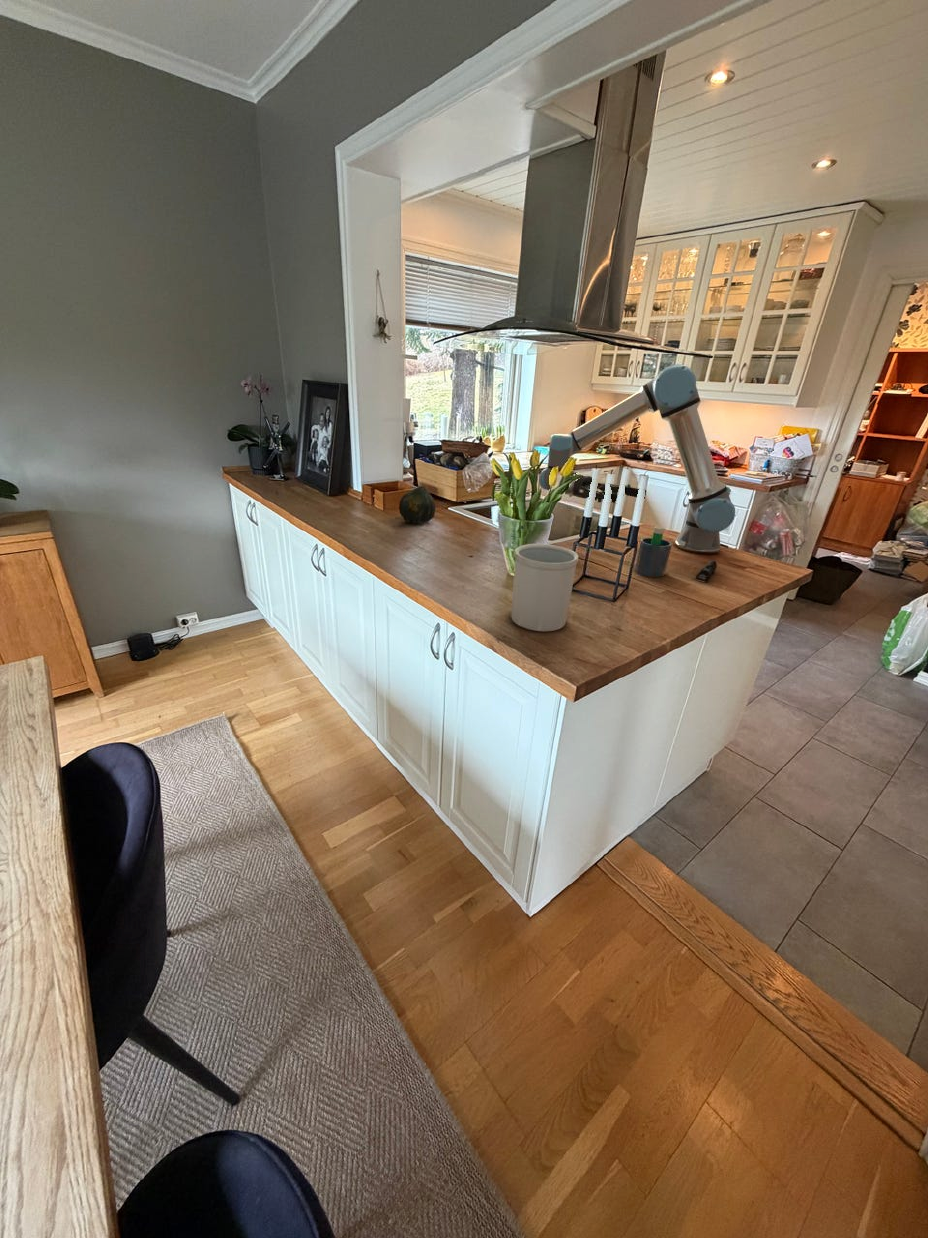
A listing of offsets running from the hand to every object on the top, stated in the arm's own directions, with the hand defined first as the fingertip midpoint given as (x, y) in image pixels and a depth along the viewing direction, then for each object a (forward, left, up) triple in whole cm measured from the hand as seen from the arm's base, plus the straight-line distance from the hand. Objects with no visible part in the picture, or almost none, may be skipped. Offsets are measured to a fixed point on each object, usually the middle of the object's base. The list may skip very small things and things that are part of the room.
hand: (634, 497), depth 153 cm
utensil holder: (+18, +54, -22) cm, 61 cm away
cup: (-9, +6, -22) cm, 24 cm away
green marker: (-9, +6, -21) cm, 24 cm away
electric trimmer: (-26, +1, -22) cm, 34 cm away
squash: (+82, -17, -22) cm, 87 cm away
